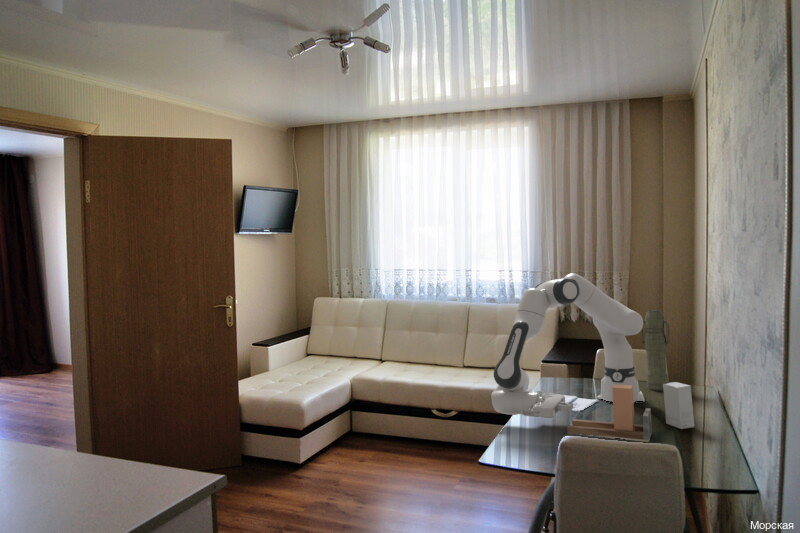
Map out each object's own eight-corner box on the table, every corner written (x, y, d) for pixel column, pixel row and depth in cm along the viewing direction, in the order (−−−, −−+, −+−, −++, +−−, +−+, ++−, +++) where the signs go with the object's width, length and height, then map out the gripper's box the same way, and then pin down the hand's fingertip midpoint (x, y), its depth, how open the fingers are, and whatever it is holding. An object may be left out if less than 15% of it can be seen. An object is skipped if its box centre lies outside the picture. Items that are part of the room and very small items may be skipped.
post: (616, 429, 209) (614, 384, 209) (634, 431, 206) (632, 385, 206) (614, 433, 205) (612, 387, 204) (633, 435, 202) (630, 388, 201)
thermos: (671, 391, 260) (668, 311, 259) (642, 389, 265) (639, 311, 265) (672, 386, 268) (669, 309, 267) (644, 385, 273) (641, 309, 272)
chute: (573, 426, 219) (572, 402, 218) (651, 433, 206) (650, 408, 206) (567, 434, 210) (566, 409, 210) (648, 441, 197) (647, 416, 197)
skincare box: (694, 427, 209) (693, 385, 209) (679, 429, 208) (678, 387, 208) (678, 421, 217) (676, 380, 217) (664, 423, 216) (662, 382, 216)
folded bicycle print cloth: (555, 397, 263) (555, 392, 263) (600, 403, 250) (600, 397, 250) (536, 407, 248) (535, 402, 248) (582, 414, 235) (582, 408, 235)
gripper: (526, 402, 210) (565, 405, 204) (540, 389, 228) (577, 392, 222) (526, 420, 211) (566, 424, 204) (541, 406, 229) (578, 409, 222)
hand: (572, 407), depth 213 cm, fingers closed
